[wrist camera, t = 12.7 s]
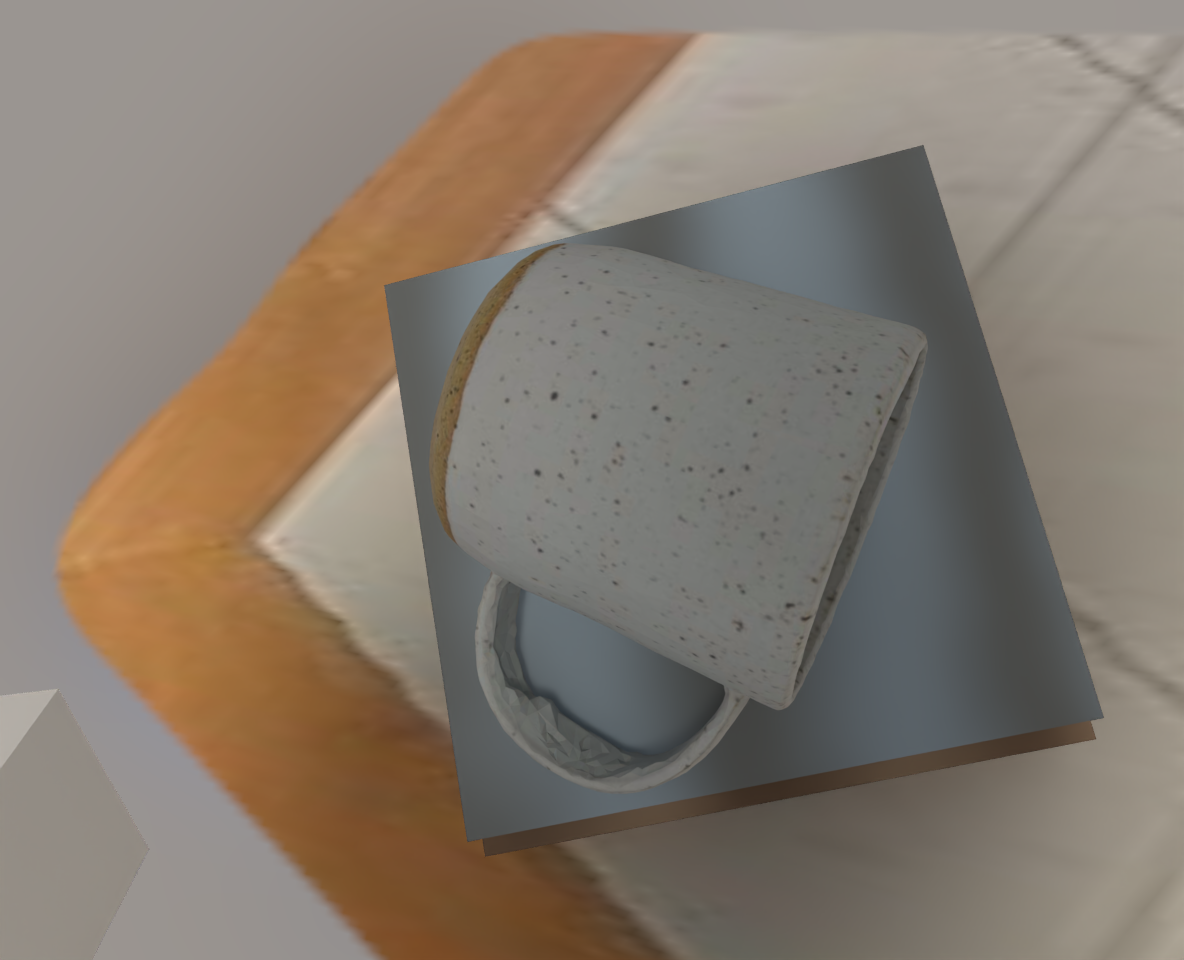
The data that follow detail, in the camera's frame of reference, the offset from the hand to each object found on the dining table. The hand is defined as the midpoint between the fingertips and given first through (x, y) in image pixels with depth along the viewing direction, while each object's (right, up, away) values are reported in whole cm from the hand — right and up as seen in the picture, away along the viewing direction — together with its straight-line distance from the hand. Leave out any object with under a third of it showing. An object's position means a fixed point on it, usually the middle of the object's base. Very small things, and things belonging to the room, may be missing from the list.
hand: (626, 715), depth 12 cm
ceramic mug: (+2, +1, +13) cm, 13 cm away
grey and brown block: (+3, +1, +19) cm, 19 cm away
